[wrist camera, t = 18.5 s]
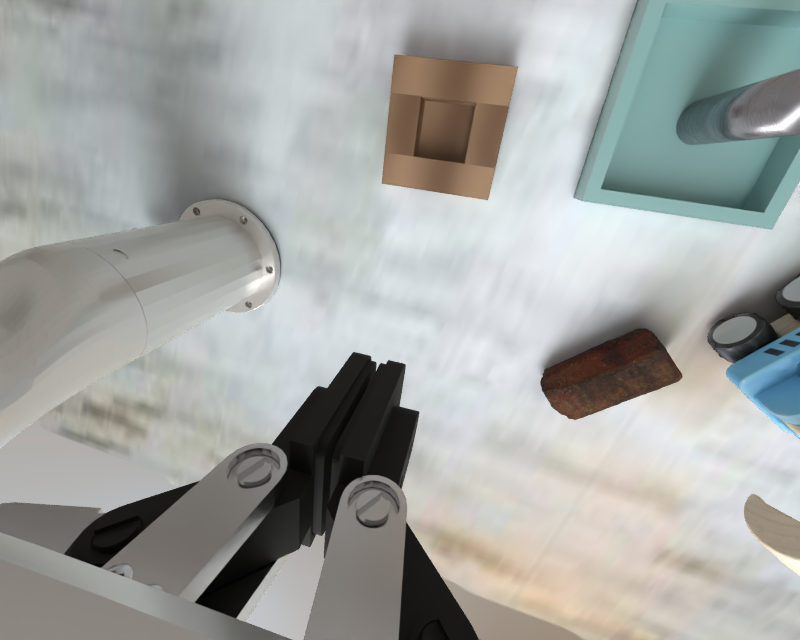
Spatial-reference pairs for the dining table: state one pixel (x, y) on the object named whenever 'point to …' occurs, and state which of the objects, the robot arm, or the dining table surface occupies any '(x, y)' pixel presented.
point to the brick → (609, 375)
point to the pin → (745, 113)
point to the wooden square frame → (446, 124)
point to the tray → (680, 87)
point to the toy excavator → (768, 399)
